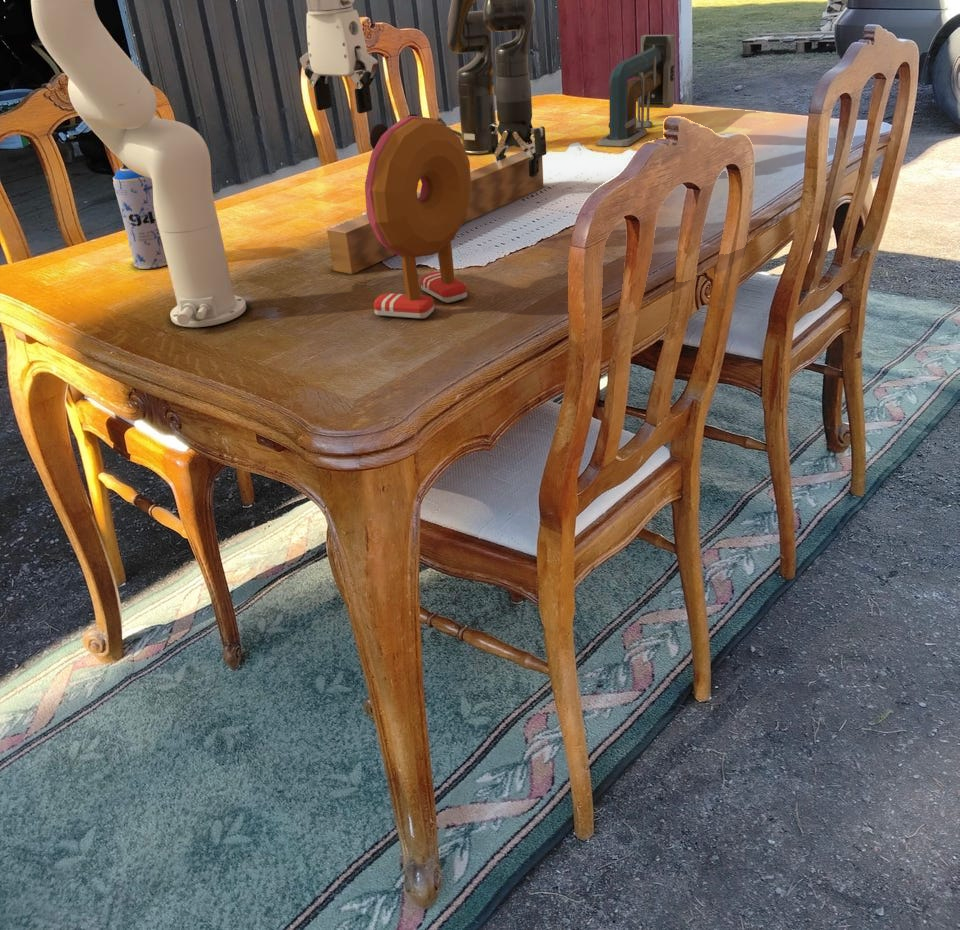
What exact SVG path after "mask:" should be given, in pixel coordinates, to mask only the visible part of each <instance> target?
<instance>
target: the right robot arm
mask: <svg viewBox="0 0 960 930" xmlns="http://www.w3.org/2000/svg"><path fill="white" fill-rule="evenodd" d="M450 1H451V2H450V7H449V12H448V17H447V23H446V42H447V47H448V49H449V50H450V51H451V52H452V53H454V54H458V55H461V54H471V53H476V55H475V57H474V58H473V60H471V61H470V62H469V63H468V64H465V65H464V66H462V67H460V68H459V69H457V71H456V86H457V97H458V109H459V121H460V122H459V123H460V131H457V130H454V129H451V128H449V127H448V126H447V124H446V122H445V121H444V120H443V119H442V118H441V117H438V118H437V119H436V120H438V121H439V122H441V123H442V124H444V125H445V126H446V127H447V128H448V129H450V130H451V131H452V132H453V133H454V134H455V135H457V136H458V137H459V138H460V139H461V143H462V145H463V147H464V150H465V152H466V154H467V155H483V154H493V155H494V156H495V162H496V161H499V160H501V159H504V158H506V157H507V155H505V154H506V152H507V151H508V148H509V147H515V148H521V151H524V152H526V154H527V156H528V157H529V159H530V160H529V176H530V177H535V176H537V174H538V173H539V157H541V156H542V157H543V156H546V155H547V139H546V128H545V126H543V125H542V126H539V127H533V124H532V119H533V102H532V101H533V99H532V83H531V78H530V77H531V76H530V66H529V65H530V64H529V62H530V61H529V48H530V47H529V45H530V38H531V33H532V27H533V24H534V19H535V14H536V5H535V0H484V3H483V8H482V9H483V10H474V11H473V10H472V11H470V10H471V8H472V6H473V5H474V4H475V2H476V1H477V0H450ZM512 31H517V34H516V36H515V37H514V38H513V40H510V41H507V42H505V43H501V44H499V45H497V46H496V47H495V49H494V54H493V33H502V32H503V33H504V32H512ZM494 67H495V69H494ZM494 71H495V83H494ZM494 84H495V85H494ZM497 121H498V123H497ZM499 136H500V139H499ZM533 138H534V139H533Z"/></svg>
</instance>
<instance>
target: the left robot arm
mask: <svg viewBox="0 0 960 930" xmlns="http://www.w3.org/2000/svg"><path fill="white" fill-rule="evenodd" d="M305 1H306V2H305V3H306V8H307V12H306V42H307V51H306V53H304V54H303V55H302V56H301V57H300V58H299V63H300V65H301V67H302V69H303V71H304V75H305V77H306V78H307V79H308V80H309V85H310V86H311V87H313V94H314V99H315V105H316V110H317V111H324V110H327V109H331V108H332V107H333V105H332V104H333V103H332V97H331V91H330V90H331V89H330V85H329V83H327V80H328V77H344V78H345V77H347V78H348V77H349V78H350V79H351V81H352V82H353V84H354V85H355V87H356V88H354V98H355V105H356V112H357V113H358V114H364V113H368V112H371V111H373V103H372V94H371V86H373V81H374V79H375V78H376V74H377V73H376V72H377V68H378V64H379V60H378V59H377V58H375V57H374V56H372V55H371V54H370V53H368V49H367V44H366V39H365V38H366V37H365V33H364V30H363V25H362V21H361V19H360V15H359V12H358V10H357V9H354V5H353V4H354V3H355V0H305ZM30 6H31V7H30V8H31V14H32V20H33V25H34V28H35V31H36V34H37V36H38V38H39V40H40V42H41V44H42V45H43V47H44V49H45V50H46V51H47V53H48V54H49V55H50V57H51V58H52V59H53V60H54V62H55V63H56V64H57V65H58V66H59V68H60V70H62V72H63V73H64V74H65V75H66V77H67V78H68V81H67V92H68V98H69V100H70V103H71V105H72V107H73V109H74V110H75V112H76V113H77V115H78V116H79V117H80V119H81V120H82V121H83V122H84V123H85V124H86V125H87V127H88V128H89V129H90V130H91V131H92V132H93V133H94V134H95V135H96V136H97V137H98V138H99V140H101V142H102V143H103V144H104V145H105V146H106V147H107V148H108V149H109V150H110V152H111V153H113V154H114V156H115V157H116V158H117V159H118V160H119V161H120V162H121V163H122V165H123V164H124V165H126V166H127V167H128V168H129V169H130V170H132V171H133V172H135V173H137V174H139V175H142V176H145V177H148V178H151V179H152V184H153V205H154V212H155V217H156V221H157V225H158V229H159V232H160V236H161V240H162V244H163V248H164V252H165V256H166V260H167V269H168V273H169V276H170V280H171V284H172V289H173V293H174V295H175V300H176V301H175V302H176V304H177V305H176V306H174V307H173V308H172V310H171V311H170V313H169V315H170V316H169V317H170V320H171V322H172V323H173V324H174V325H176V326H179V327H182V328H183V327H184V328H205V327H213V326H217V325H221V324H224V323H228V322H230V321H233V320H235V319H237V318H238V317H240V316H241V315H243V314H244V313H245V311H246V310H247V303H246V300H245V299H244V298H243V297H241V296H239V295H236V294H235V292H234V291H235V290H234V287H233V281H232V278H231V273H230V268H229V264H228V260H227V255H226V249H225V245H224V241H223V240H224V239H223V236H222V232H221V226H220V223H219V222H220V221H219V218H218V213H217V209H216V204H215V198H214V191H213V184H212V183H213V182H212V163H211V155H210V150H209V148H208V146H207V143H206V141H205V139H204V138H203V137H202V135H200V133H199V132H198V131H196V129H195V128H193V127H191V126H189V124H186V123H184V122H181V121H177V120H173V119H169V118H161V117H159V116H158V115H157V114H156V112H157V108H158V99H157V95H156V92H155V90H154V87H153V85H152V84H151V82H150V80H148V78H147V77H146V76H145V75H144V74H143V72H142V70H140V69H139V68H138V67H137V65H136V64H135V63H134V61H132V60H131V58H130V57H129V56H128V55H127V54H126V53H125V51H124V50H123V49H122V48H121V47H120V45H119V44H118V43H117V41H115V39H114V38H113V37H112V35H111V34H110V32H109V31H108V30H107V28H106V27H105V26H104V24H103V23H102V21H101V20H100V17H99V15H98V12H97V10H96V6H95V0H30Z"/></svg>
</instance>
